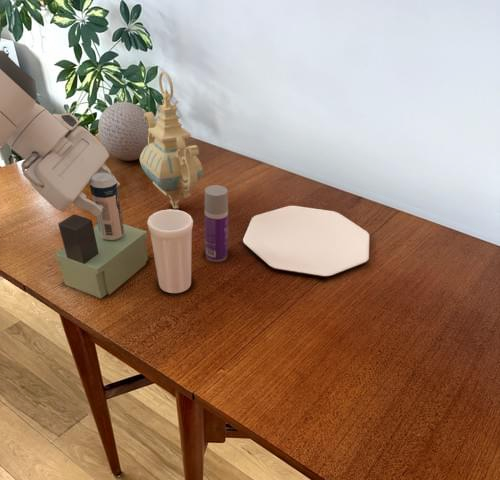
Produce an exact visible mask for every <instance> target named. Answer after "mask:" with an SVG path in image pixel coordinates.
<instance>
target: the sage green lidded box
mask: <svg viewBox="0 0 500 480" xmlns="http://www.w3.org/2000/svg"><path fill="white" fill-rule="evenodd" d="M123 226H124V231H125V234H124V235H123V236H122V237H120V238H119V239H116V240H107V239H104V238H102V237H101V236H100V233H99V228H98V224H96V225H95V226H93V228H94V233H95V238H96V243H97V247H98V252H99V254H97V255H96V256H95V257H93V258H92V259H90V260H89V261H88V262H86V263H85V264H83V263H80V262H77V261H75V260H72V259H69V258H67V255H66V251H65V248H64V246H63V247H61V248H60V249H58V250H57V251H55V252H54V253H53V254H54V258H55V260H57V261H58V264H59V267H60V268H59V269H60V271H61V272H60V273H61V276H62V278H63V282H64V285H65V286H68V287H70V288H73V289H76V290H78V291H81V292H83V293H86V294H88V295H91V296H94V297H96V298H99V299H103V298H104V297H105V296H106V295H108V296H110V295H111V294H112V293H114V292H115V291H116V290H117V289H118V288H120V286H122V285H123V284H125V283H126V282H127V281H128V280H129V279H131V277H133V276H134V275H135V274H136V273H137V272H138V271H140V270H141V269H142V268H143V267H144V266H145V265H147V261H148V260H149V257H148V256H149V255H148V249H147V241H146V239H147V238H148V236H149V235H148V231H147V230H145V229H140V228H138V227H134V226H133V225H132V226H131V225H128V224H126V223H123Z"/></svg>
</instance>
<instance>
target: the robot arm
mask: <svg viewBox="0 0 500 480" xmlns="http://www.w3.org/2000/svg"><path fill="white" fill-rule="evenodd" d="M37 91H38V90H37V83H36V80H35V79H34V78H33V77H32V76H30V75H29V74H28V73H27V72H25V70H23V69H22V68H21V67H20V66H19V65H18V64H17V63H16V62H15V61H14V60H13V59H12V58H11V57H10V56H8V54H7V53H6V52H5V50H1V49H0V149H1V148H2V147H3V146H4V145H5V144H7V146H8V147H9V148H10V149H11V150H12V151H14V152H15V153H16V154H17V155H19V156H20V157H21V158H22V159H23V160H24V161H22V163H21V165H20V167H21V172H22V173H23V174H22V175H23V176H24V177H25V179H27V180H28V181H29V183H30V185H31V186H32V187H33V189H34V190H35V191H36V192H37V193H38V194H39V195H40V196H41V197H43V199H44V200H45V201H47V203H49V205H51V206H52V207H53V208H54V209H56V210H58V211H61V212H66V210H68V209H69V207H70V206H72V204H73V205H74V206H76V207H77V208H79V209H81V210H84V211H87V212H89V213H91V214H92V215H93V216H95V218H96V217H98V216H99V215H100V214H101V213H102V211H103V210H104V207H103V206H102V205H101V204H100V203H99V202H98V201H96V203H95V202H93V200H91V199H88V198H87V196H88V195H87V194H85V193H84V192H83V191H84V189H85V188H87V186H88V184H89V181H90V180H91V178H92V177H93V176H94V173H97V172H110V173H111V174H113V173H112V171H111V169H110V168H109V167H108V166H107V165H106V164H105V163H106V161H108V159H109V157H110V153H109V152H108V151H107V150H106V148H105V147H104V146H103V144H102V142H101V141H100V140H98V138H96V137H95V136H94V135H93V134H92V133H91V132H90V131H89V130H88V129H87V128H85V127H83V126H81V125H80V121H79V119H78V118H77V117H76V116H75V115H73V114H72V113H62V114H61V113H60V114H59V113H53V114H52V113H50V111H48V110H47V109H46V108H45V107H44V106H42V105H41V104H39V103H37V101H38V92H37ZM120 186H121V183H120V182H119V181H118V180H117V188H118V189H119V187H120Z"/></svg>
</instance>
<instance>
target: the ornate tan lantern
mask: <svg viewBox="0 0 500 480" xmlns="http://www.w3.org/2000/svg"><path fill="white" fill-rule="evenodd" d="M163 75H165V76H166V79H167V81H168V84H169V91H170V92H169V91H168V90H167V89H165V90H164V88H163V83H162V82H163V81H162V79H163ZM158 85H159V90H160V93H161V95H162V98H163V99H162V100H161V102H162V104H159V103H156V105H157V109H159V113H156V116H157V117H158V120H156V117H155V114H154V113H153V111H147V112H146V111H145V112H146V113H144V114H145V115H144V120H148V122H149V128H148V131H149V134H148V145H147V146H146V147H145V148H144V150H143V151H142V153H141V155H140V158H139V164H140V166H141V169H142V171H143V172H144V174H145V175H146V176H147V177H148V178H149V179H150V180H151V181H152V184H153V185H154V186H155V187H156V188H157V189H158V190H159V191H160V192H161V193H162V194H163V195H164V196H167V197H168V198H169V202H170V204H171V206H172V208H173V210H177V209H180V204H179V203H181V202H182V199H186V198H189V197H191V196H192V194H191V192H190V191H193V190H195V189H196V187H197V184H198V182H199V180H200V179H201V177H202V175H203V172H204V171H203V170H204V169H203V165H202V162H201V161H200V159H199V158H198V157H197V156H198V155H199V153H200V150H199V146H198V145H197V144H194V145H187V144H186V140H187V139H189V138H191V136H192V134H191V133H190V132H188V131H187V130H186V129H184V128H183V127H182V123H181V122H179V119H180V118H181V116H179V115H178V114H177V112H178V107H177V106H176V105H177V104H178V103H179V100H175V101H174V103H171V100H172V99H173V96H174V85H173V82H172V79H171V76H170V75H169V74H168V72H166V71H161V72H160V74H159V76H158Z"/></svg>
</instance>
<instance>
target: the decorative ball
mask: <svg viewBox="0 0 500 480" xmlns="http://www.w3.org/2000/svg"><path fill="white" fill-rule="evenodd" d="M144 113H146V111H145V110H144V109H143V108H141V106H139V105H136V104H135V103H132V102H128V101H119V102H118V101H117V102H113V103H112V104H110V105H109V106H107V107H106V108H105V109H104V110H103V112H102V113H101V115H100V117H99V119H98V125H97V126H98V127H97V129H98V130H97V131H98V137H99V141H100V143H101V144H102V145H103V146H104V147H105V148H106V150H107V152H108V154H109V155H111V156H113V157H115V158H116V159H119V160H122V161H127V162H128V161H129V162H131V161H136V160H140V155H141V153H142V151H143V150H144V148H145V147H146V146H147V145H148V134H149V131H148V128H149V122H148V120H144V115H145V114H144Z"/></svg>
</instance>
